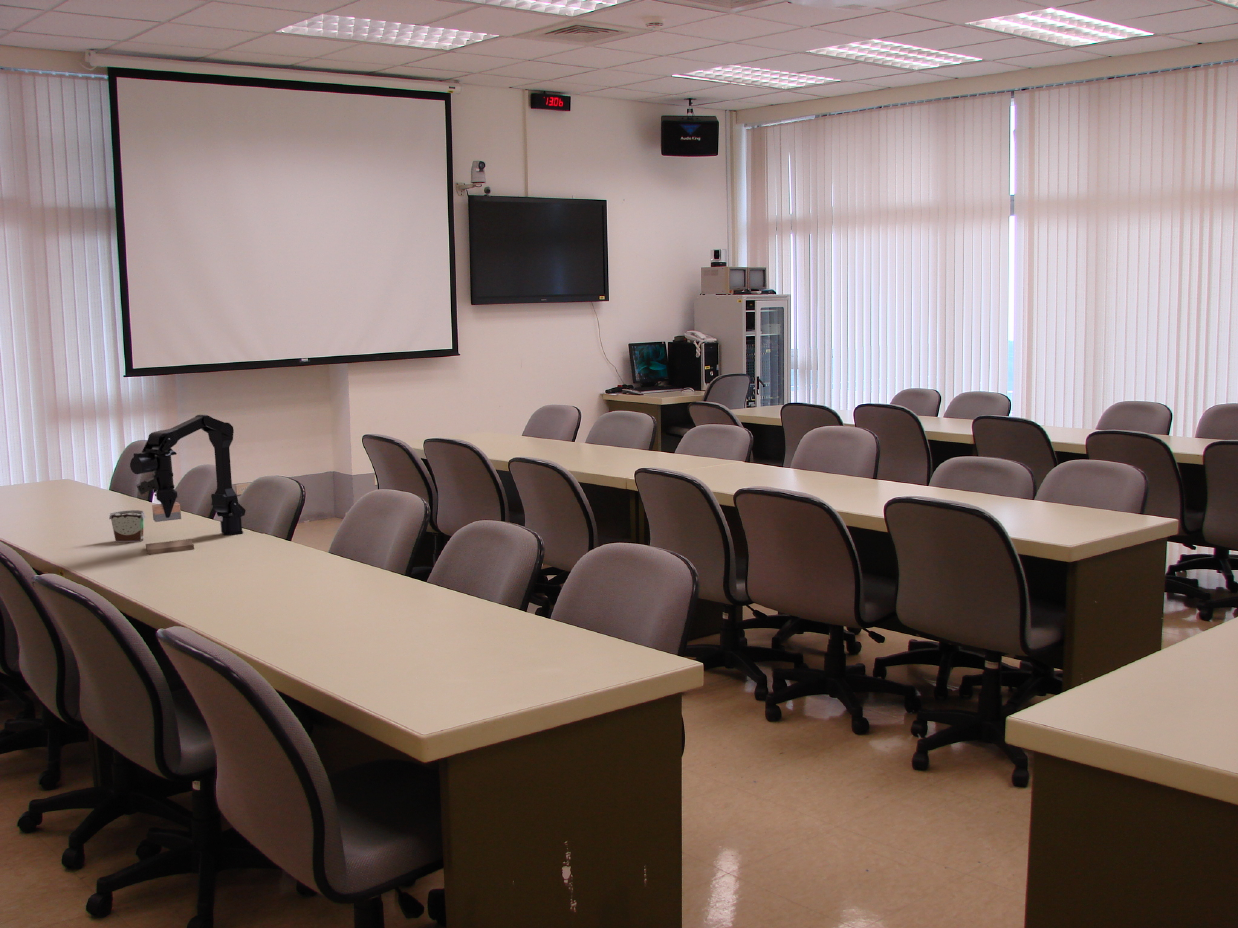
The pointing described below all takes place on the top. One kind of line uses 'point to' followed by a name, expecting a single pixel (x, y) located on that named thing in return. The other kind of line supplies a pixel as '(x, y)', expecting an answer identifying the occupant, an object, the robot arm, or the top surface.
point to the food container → (128, 525)
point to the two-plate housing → (160, 515)
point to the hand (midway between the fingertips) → (167, 516)
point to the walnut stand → (169, 546)
